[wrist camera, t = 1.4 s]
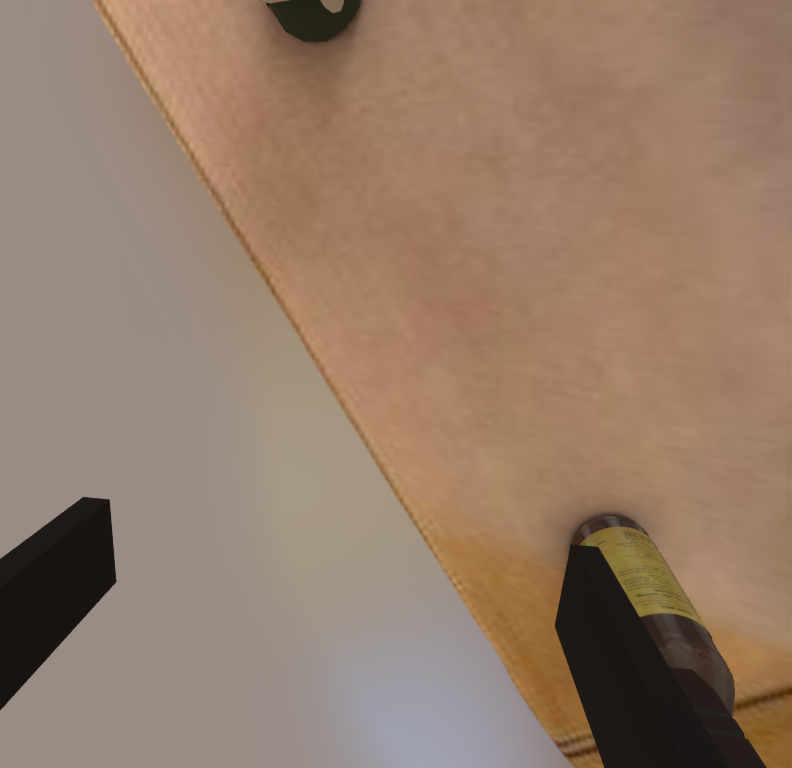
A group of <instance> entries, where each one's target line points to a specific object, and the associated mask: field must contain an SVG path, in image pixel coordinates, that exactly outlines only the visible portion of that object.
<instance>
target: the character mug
mask: <svg viewBox="0 0 792 768" xmlns="http://www.w3.org/2000/svg"><path fill="white" fill-rule="evenodd" d="M261 1H264V2H266V4H267V5H268V7H269V5H270V7H271V9H272V11H273V13H274V14H275V16H276V17H277V19H278V21H279V22H280V24H281V26H282V27H283V29H284V30H285V31H286V32H287V33H289V34H291V35H293V36H295V37H297V38H299V39H301V40H302V41H304V42H311V41H327V40H329V39H330V38H331V37H333V36H334V35H336V34H337V33H339V32H340V31H342V30H343V29H344V28H345V27H346V26H347V24H348V23H349V21H350V20H351V18H352V17H353V15H354V14H355V12H356V11H357V9H358V8H359V5H360V0H261ZM270 7H269V9H270ZM272 11H271V12H272Z"/></svg>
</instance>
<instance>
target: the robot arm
mask: <svg viewBox="0 0 792 768" xmlns="http://www.w3.org/2000/svg"><path fill="white" fill-rule="evenodd" d="M115 583H116V572H115V560H114V547H113V536H112V524H111V512H110V500H109V499H99V498H88V497H83V498H81V499H80V500H79V501H77V502H76V503H75V504H73V505H72V506H71V507H69V508H68V509H67V510H65V511H64V512H63V513H61V514H60V515H59V516H57V517H56V518H55V519H53V520H52V521H51V522H49V523H48V524H46V525H45V526H44V527H42V528H41V529H40V530H38V531H37V532H36V533H34V534H33V535H32V536H31V537H29V538H28V539H26V540H25V541H24V542H23V543H21V544H20V545H18V546H17V547H16V548H15V549H13V550H12V551H10V552H9V553H8V554H6V555H5V556H4V557H2V558H1V559H0V710H1V709H2V708H3V707H4V706H5V705H6V704H7V702H8V701H9V700H10V699H11V698H12V697H13V696H14V695H15V694H16V692H17V691H18V690H19V689H20V688H21V687H22V686H23V684H24V683H25V682H26V681H27V680H28V679H29V678H30V677H31V676H32V675H33V673H35V671H36V670H37V669H38V668H39V667H40V666H41V665H42V664H43V663H44V661H45V660H46V659H47V658H48V657H49V656H50V655H51V653H53V651H54V650H55V649H56V648H57V647H58V646H59V645H60V644H61V642H62V641H63V640H64V639H65V638H66V637H67V636H68V635H69V634H70V633H71V632H72V630H73V629H74V628H75V627H76V626H77V625H78V624H79V623H80V621H81V620H82V619H83V618H84V617H85V616H86V615H87V614H88V613H89V612H90V610H91V609H92V608H93V607H94V606H95V605H96V603H98V602H99V601H100V599H101V598H102V597H103V596H104V595H105V594H106V593H107V592H108V591H109V590H110V588H111V587H112V586H113V585H114V584H115ZM555 628H556V631H557V634H558V637H559V640H560V643H561V645H562V648H563V651H564V654H565V657H566V660H567V663H568V665H569V668H570V671H571V674H572V677H573V680H574V683H575V685H576V688H577V691H578V694H579V697H580V700H581V702H582V705H583V708H584V711H585V714H586V717H587V720H588V722H589V725H590V728H591V731H592V734H593V737H594V739H595V742H596V745H597V748H598V751H599V754H600V757H601V759H602V762H603V765H604V768H766V766H765V765H764V763H763V762H762V760H761V759H760V757H759V756H758V754H757V753H756V751H755V749H754V748H753V746H752V745H751V743H750V742H749V740H748V739H745V737H744V733H743V731H742V730H741V728H740V727H739V725H738V724H737V722H736V721H735V719H732V717H731V713H730V712H729V710H728V709H727V707H726V706H725V704H724V703H723V701H722V700H721V698H720V697H719V695H718V694H717V692H716V691H715V690H714V689H713V688H712V687H711V686H710V685H709V684H708V683H707V682H706V681H705V680H704V679H703V678H701V677H700V676H699V675H698V674H697V673H696V672H695V671H694V670H693V669H685V668H675V667H669V666H668V664H667V662H666V661H665V659H664V657H663V656H662V654H661V652H660V651H659V649H658V647H657V645H656V644H655V642H654V640H653V639H652V637H651V635H650V634H649V632H648V630H647V628H646V627H645V625H644V623H643V622H642V620H641V618H640V617H639V615H638V613H637V611H636V610H635V608H634V606H633V605H632V603H631V601H630V600H629V598H628V596H627V594H626V593H625V591H624V589H623V588H622V586H621V584H620V583H619V581H618V579H617V577H616V576H615V574H614V572H613V571H612V569H611V567H610V566H609V564H608V562H607V560H606V559H605V557H604V555H603V554H602V552H601V550H600V549H599V547H595V546H585V545H575V544H571V546H570V551H569V556H568V561H567V566H566V572H565V577H564V582H563V587H562V592H561V597H560V602H559V607H558V612H557V617H556V622H555Z"/></svg>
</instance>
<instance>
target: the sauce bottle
mask: <svg viewBox="0 0 792 768" xmlns="http://www.w3.org/2000/svg"><path fill="white" fill-rule="evenodd" d="M573 544H575V545H585V546H595V547H599V549H600V550H601V552H602V554H603V555H604V557H605V559H606V560H607V562H608V564H609V566H610V567H611V569H612V571H613V572H614V574H615V576H616V577H617V579H618V581H619V583H620V584H621V586H622V588H623V589H624V591H625V593H626V594H627V596H628V598H629V600H630V601H631V603H632V605H633V606H634V608H635V610H636V611H637V613H638V615H639V617H640V618H641V620H642V622H643V623H644V625H645V627H646V628H647V630H648V632H649V634H650V635H651V637H652V639H653V640H654V642H655V644H656V645H657V647H658V649H659V651H660V652H661V654H662V656H663V657H664V659H665V661H666V662H667V664H668V666H669V667H675V668H685V669H693V670H694V671H695V672H696V673H697V674H698V675H699V676H700V677H701V678H703V679H704V680H705V681H706V682H707V683H708V684H709V685H710V686H711V687H712V688H713V689H714V690H715V691H716V692H717V694H718V695H719V697H720V698H721V700H722V701H723V703H724V704H725V706H726V707H727V709H728V710H729V712H730V713H731V717H733V710H734V709H733V707H734V697H735V687H734V680H733V676H732V674H731V672H730V670H729V668H728V666H727V664H726V662H725V661H724V660H723V657H722V656H721V655H720V653H719V651H718V650H717V648H716V646H715V645H714V643H713V641H712V636H711V635H710V633H709V631H708V630H707V628H706V626H705V625H704V623H703V621H702V620H701V618H700V616H699V615H698V613H697V612H696V610H695V608H694V607H693V605H692V603H691V602H690V600H689V598H688V597H687V595H686V594H685V592H684V590H683V589H682V587H681V585H680V584H679V582H678V581H677V579H676V577H675V576H674V574H673V572H672V571H671V569H670V568H669V566H668V564H667V562H666V561H665V559H664V557H663V556H662V554H661V553H660V551H659V550H658V548H657V547H656V545H655V544H654V542H653V541H652V540H651V539H650V537H649V536H648V534H647V533H646V532H645V531H644V530H643V529H642V528H641V527H640V526H639V525H638V524H637V523H635V522H634V521H632V520H630V519H629V518H626V517H622V516H617V515H615V516H601V517H598V518H596V519H594V520H591V521H589V522H587V523H586V524H585V525H583V526H582V527H581V529H580V530H579V531H578V532H577V533H576V535H575V537H574V540H573ZM732 719H733V718H732Z"/></svg>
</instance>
